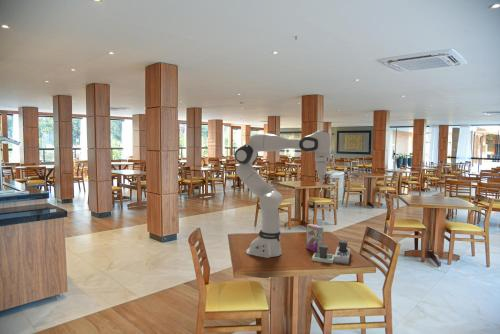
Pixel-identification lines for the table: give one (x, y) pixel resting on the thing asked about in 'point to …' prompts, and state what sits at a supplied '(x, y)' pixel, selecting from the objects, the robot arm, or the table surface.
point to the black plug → (323, 251)
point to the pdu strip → (342, 256)
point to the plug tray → (317, 258)
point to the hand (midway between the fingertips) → (321, 181)
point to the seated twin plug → (343, 245)
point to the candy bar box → (314, 237)
